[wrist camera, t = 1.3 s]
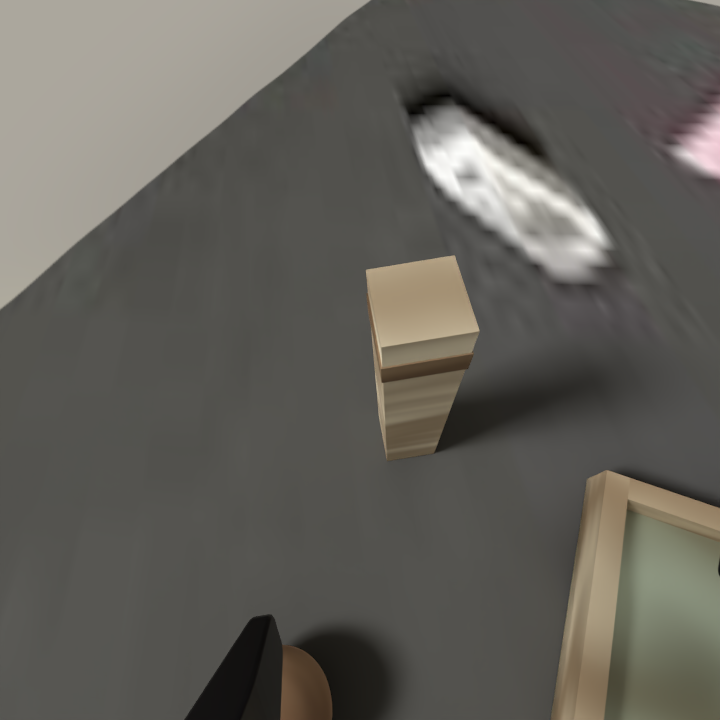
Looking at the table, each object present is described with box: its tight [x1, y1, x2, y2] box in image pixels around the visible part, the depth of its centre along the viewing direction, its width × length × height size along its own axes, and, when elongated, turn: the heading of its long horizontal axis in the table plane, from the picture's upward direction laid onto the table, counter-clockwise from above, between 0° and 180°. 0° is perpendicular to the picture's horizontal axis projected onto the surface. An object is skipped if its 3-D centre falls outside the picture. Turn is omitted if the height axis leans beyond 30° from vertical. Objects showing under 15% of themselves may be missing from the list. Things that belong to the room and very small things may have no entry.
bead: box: [280, 645, 332, 720], centre depth 16 cm, size 4×4×4 cm
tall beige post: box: [366, 255, 480, 461], centre depth 17 cm, size 3×3×13 cm
